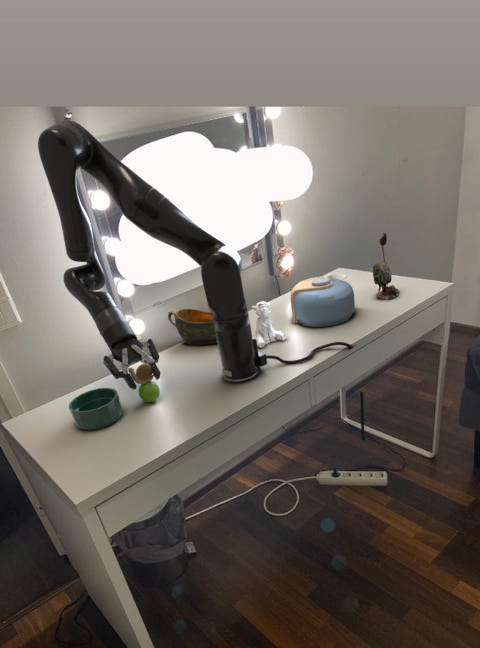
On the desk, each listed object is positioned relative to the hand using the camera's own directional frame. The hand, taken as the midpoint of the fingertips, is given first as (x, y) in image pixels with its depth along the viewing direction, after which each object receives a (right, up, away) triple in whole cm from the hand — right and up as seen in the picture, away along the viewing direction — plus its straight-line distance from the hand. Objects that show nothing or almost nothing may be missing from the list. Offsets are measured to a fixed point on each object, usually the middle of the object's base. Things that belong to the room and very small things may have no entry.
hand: (146, 382), depth 124 cm
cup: (+12, +17, +36) cm, 42 cm away
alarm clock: (+51, +24, +36) cm, 67 cm away
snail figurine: (0, -5, +4) cm, 7 cm away
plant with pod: (+73, +33, +42) cm, 90 cm away
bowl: (-12, -9, +1) cm, 15 cm away
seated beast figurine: (+32, +15, +26) cm, 44 cm away
